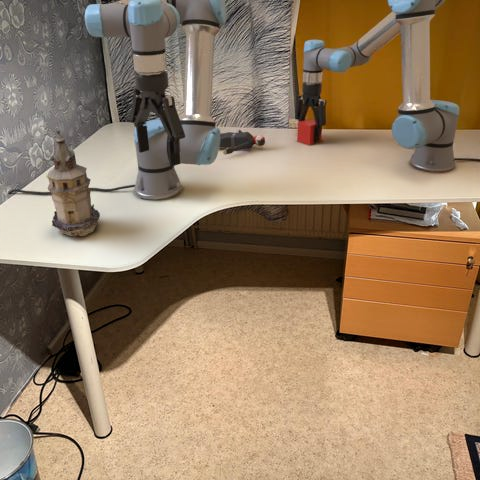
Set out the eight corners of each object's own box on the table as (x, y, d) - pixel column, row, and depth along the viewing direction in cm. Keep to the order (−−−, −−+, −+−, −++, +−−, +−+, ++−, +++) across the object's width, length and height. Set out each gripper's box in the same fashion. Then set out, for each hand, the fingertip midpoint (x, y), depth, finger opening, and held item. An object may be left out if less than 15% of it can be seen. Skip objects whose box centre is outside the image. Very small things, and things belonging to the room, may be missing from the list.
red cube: (309, 145, 215) (310, 125, 211) (297, 141, 220) (297, 122, 216) (321, 141, 220) (322, 121, 216) (308, 137, 224) (309, 118, 220)
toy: (199, 123, 225) (269, 123, 219) (200, 137, 228) (270, 138, 222) (181, 143, 203) (259, 144, 197) (183, 159, 206) (259, 160, 200)
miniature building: (80, 214, 164) (63, 117, 149) (111, 225, 157) (96, 125, 142) (44, 231, 154) (22, 130, 140) (75, 244, 147) (55, 139, 133)
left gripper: (196, 77, 119) (201, 167, 129) (135, 61, 135) (144, 142, 146) (169, 83, 115) (176, 175, 125) (109, 66, 131) (120, 149, 141)
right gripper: (338, 85, 204) (334, 143, 215) (299, 76, 217) (297, 131, 228) (325, 88, 199) (322, 147, 211) (287, 79, 212) (285, 135, 224)
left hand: (159, 158), depth 135 cm, fingers open, 13 cm apart
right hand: (309, 139), depth 219 cm, fingers closed on red cube, 7 cm apart
